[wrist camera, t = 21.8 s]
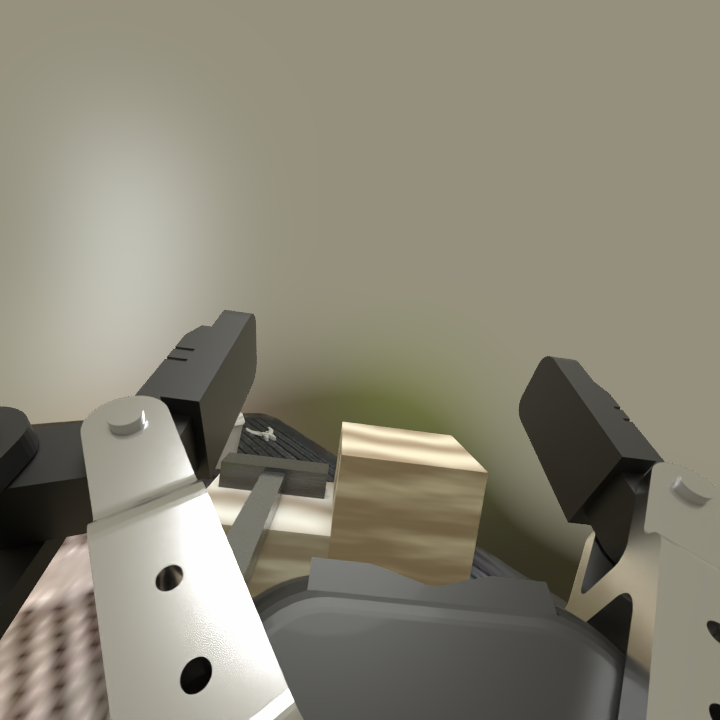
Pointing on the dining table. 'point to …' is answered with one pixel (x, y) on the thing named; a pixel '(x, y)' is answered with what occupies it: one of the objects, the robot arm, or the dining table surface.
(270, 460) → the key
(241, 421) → the coffee cup
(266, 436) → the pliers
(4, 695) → the dining table surface
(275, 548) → the step stand
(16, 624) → the dining table surface
